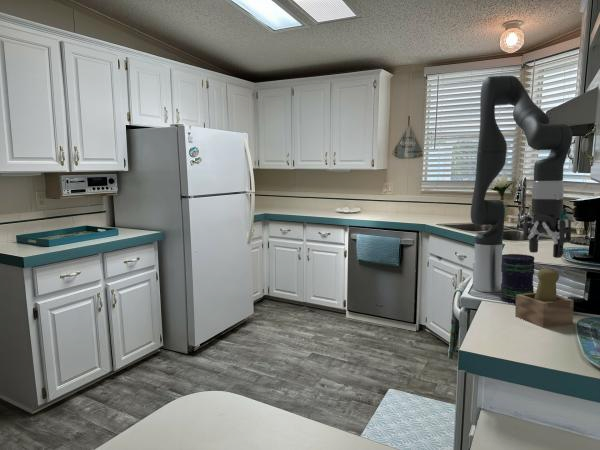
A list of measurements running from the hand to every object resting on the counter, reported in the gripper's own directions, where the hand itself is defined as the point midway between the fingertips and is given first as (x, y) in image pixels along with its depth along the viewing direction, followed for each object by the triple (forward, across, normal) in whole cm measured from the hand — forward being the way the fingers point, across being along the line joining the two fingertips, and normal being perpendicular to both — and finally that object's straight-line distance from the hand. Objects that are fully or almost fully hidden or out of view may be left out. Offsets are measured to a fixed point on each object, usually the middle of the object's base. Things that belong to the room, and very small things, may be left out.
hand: (545, 254), depth 117 cm
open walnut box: (+19, 0, 0) cm, 19 cm away
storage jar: (+19, -19, +7) cm, 28 cm away
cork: (+15, +1, 0) cm, 15 cm away
